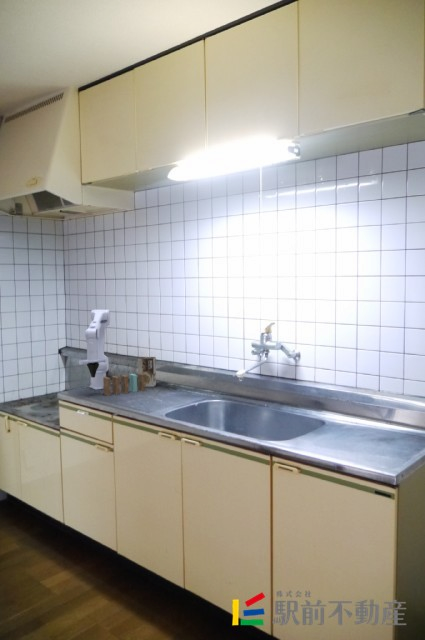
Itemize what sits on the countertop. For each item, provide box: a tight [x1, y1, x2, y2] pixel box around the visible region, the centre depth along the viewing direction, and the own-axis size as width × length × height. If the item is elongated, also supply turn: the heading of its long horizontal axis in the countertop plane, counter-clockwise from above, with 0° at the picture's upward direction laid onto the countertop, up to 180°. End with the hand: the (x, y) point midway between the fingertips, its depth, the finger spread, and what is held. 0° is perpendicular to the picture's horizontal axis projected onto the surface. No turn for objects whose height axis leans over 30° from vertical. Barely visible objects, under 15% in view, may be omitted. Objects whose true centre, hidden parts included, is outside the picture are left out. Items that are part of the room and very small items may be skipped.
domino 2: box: [111, 375, 121, 395], centre depth 269 cm, size 2×5×9 cm, turn 34°
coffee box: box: [137, 356, 157, 388], centre depth 289 cm, size 9×6×16 cm
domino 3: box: [120, 374, 129, 394], centre depth 272 cm, size 2×5×9 cm, turn 34°
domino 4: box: [129, 373, 138, 393], centre depth 275 cm, size 2×5×9 cm, turn 34°
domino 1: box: [102, 376, 112, 396], centre depth 266 cm, size 2×5×9 cm, turn 34°
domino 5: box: [137, 373, 146, 392], centre depth 278 cm, size 2×5×9 cm, turn 34°
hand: (93, 377), depth 266 cm, fingers closed
